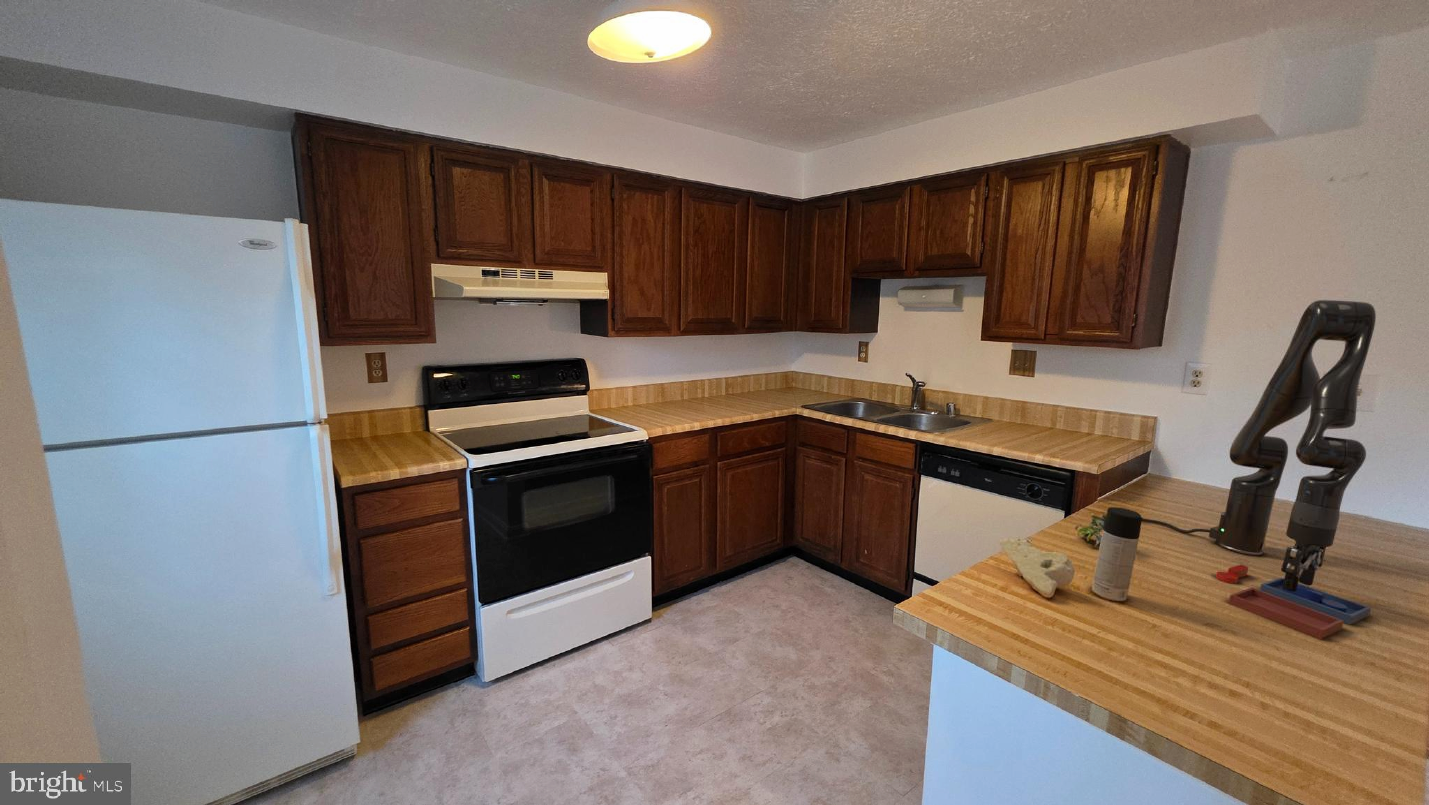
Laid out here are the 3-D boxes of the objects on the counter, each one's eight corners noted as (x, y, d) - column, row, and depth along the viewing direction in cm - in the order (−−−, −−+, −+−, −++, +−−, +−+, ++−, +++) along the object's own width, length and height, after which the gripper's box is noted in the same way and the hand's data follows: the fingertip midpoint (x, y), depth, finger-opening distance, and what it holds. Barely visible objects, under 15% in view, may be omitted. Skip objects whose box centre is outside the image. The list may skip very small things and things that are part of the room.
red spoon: (1232, 584, 137) (1234, 575, 137) (1212, 577, 141) (1214, 568, 141) (1252, 578, 142) (1254, 569, 142) (1233, 571, 146) (1235, 562, 145)
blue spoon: (1349, 611, 126) (1351, 601, 126) (1341, 614, 124) (1344, 604, 124) (1286, 589, 135) (1288, 580, 135) (1279, 592, 134) (1281, 583, 133)
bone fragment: (1080, 612, 124) (1078, 552, 133) (1072, 595, 120) (1070, 534, 129) (1005, 607, 133) (1007, 551, 142) (996, 591, 130) (999, 535, 139)
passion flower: (1110, 564, 158) (1147, 541, 151) (1087, 562, 154) (1124, 538, 147) (1084, 530, 166) (1118, 506, 159) (1061, 527, 162) (1095, 502, 154)
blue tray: (1259, 591, 134) (1261, 584, 134) (1278, 584, 139) (1280, 577, 139) (1350, 625, 121) (1352, 616, 121) (1368, 616, 125) (1371, 607, 125)
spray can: (1123, 592, 130) (1138, 510, 127) (1130, 605, 124) (1147, 519, 121) (1089, 585, 133) (1103, 504, 129) (1094, 597, 127) (1110, 513, 123)
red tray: (1228, 603, 128) (1230, 594, 127) (1249, 595, 132) (1251, 587, 132) (1321, 639, 114) (1323, 630, 114) (1341, 629, 119) (1343, 620, 119)
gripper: (1304, 512, 136) (1289, 575, 139) (1277, 519, 130) (1262, 584, 132) (1348, 524, 129) (1332, 589, 132) (1322, 531, 123) (1305, 600, 126)
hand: (1297, 587), depth 132 cm, fingers open, 8 cm apart
